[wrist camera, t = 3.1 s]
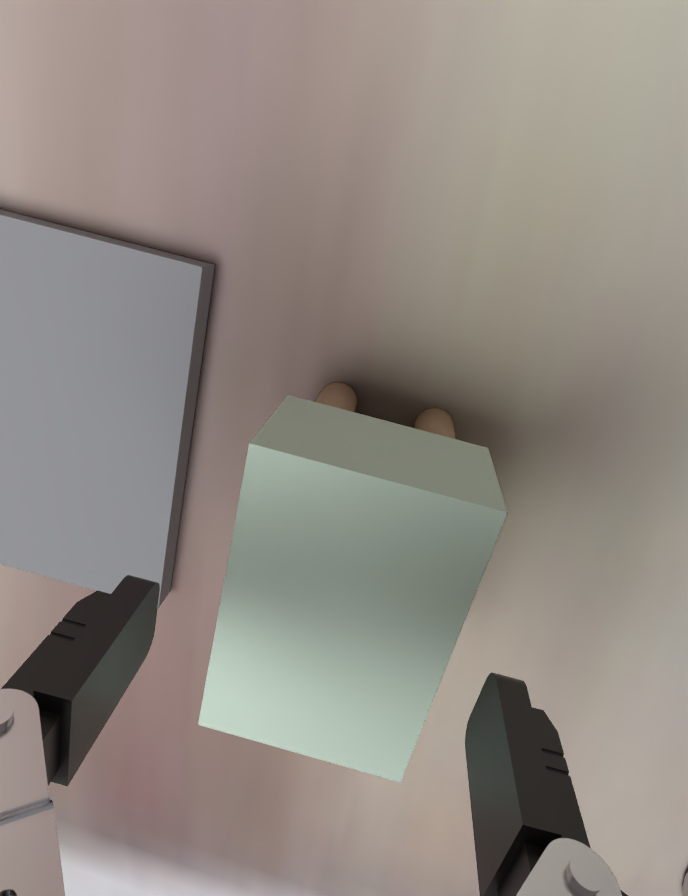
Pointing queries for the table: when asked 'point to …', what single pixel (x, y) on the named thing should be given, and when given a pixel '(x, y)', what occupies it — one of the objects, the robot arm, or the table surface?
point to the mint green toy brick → (348, 580)
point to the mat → (95, 401)
